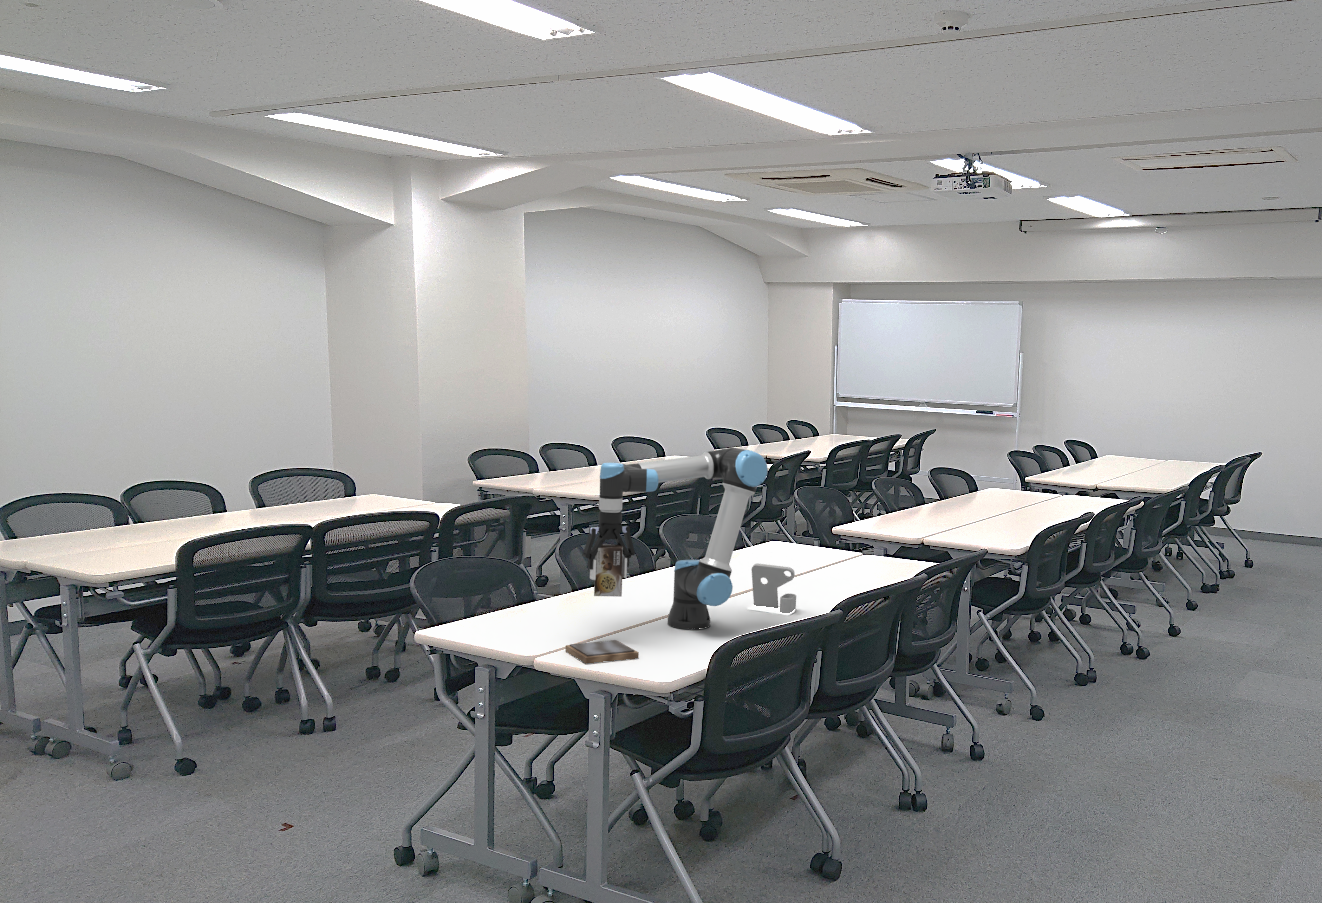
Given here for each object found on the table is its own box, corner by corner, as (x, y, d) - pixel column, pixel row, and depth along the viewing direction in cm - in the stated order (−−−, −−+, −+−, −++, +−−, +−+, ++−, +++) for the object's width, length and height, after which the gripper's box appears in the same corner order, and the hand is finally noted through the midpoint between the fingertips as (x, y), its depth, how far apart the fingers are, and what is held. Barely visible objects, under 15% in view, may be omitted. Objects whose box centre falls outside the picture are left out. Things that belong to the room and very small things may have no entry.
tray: (616, 646, 348) (617, 638, 348) (638, 658, 335) (638, 650, 334) (565, 651, 339) (565, 643, 339) (585, 664, 326) (585, 656, 326)
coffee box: (621, 592, 355) (623, 544, 354) (621, 597, 349) (623, 547, 347) (593, 592, 355) (595, 543, 353) (593, 596, 348) (595, 546, 347)
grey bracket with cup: (797, 610, 410) (800, 564, 409) (790, 616, 401) (793, 568, 399) (754, 605, 417) (756, 559, 415) (746, 610, 408) (748, 563, 406)
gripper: (636, 507, 358) (634, 573, 360) (573, 510, 347) (571, 578, 349) (647, 511, 352) (644, 578, 353) (582, 513, 341) (580, 582, 342)
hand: (608, 578), depth 351 cm, fingers closed on coffee box, 10 cm apart
